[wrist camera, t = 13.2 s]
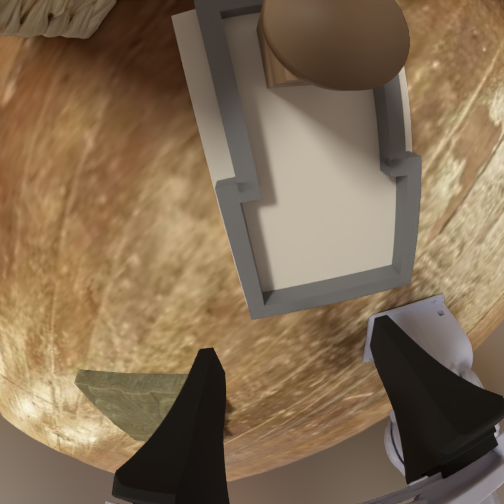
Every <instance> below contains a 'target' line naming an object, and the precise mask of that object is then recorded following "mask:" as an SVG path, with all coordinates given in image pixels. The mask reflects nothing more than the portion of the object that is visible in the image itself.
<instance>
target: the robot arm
mask: <svg viewBox="0 0 504 504" xmlns="http://www.w3.org/2000/svg"><path fill="white" fill-rule="evenodd" d="M444 298H445V296H444V295H443V294H439V295H436V296H433V297H430V298H427V299H424V300H421V301H418V302H414V303H411V304H408V305H405V306H402V307H398V308H395V309H391V310H388V311H384V312H381V313H377V314H374V315H371V316H370V317H369V320H368V327H367V334H366V341H365V347H364V354H363V362H365V363H366V362H370V361H373V360H374V363H375V366H376V368H377V371H378V373H379V375H380V378H381V380H382V382H383V385H384V387H385V389H386V392H387V394H388V397H389V399H390V402H391V404H392V407H393V410H392V411H390V412H389V415H390V418H391V421H389V422H388V423H387V426H386V430H385V433H384V443H385V448H386V451H387V454H388V456H389V458H390V460H391V462H392V463H393V465H394V466H395V467H396V468H398V469H399V470H400V471H401V473H402V474H403V475H404V477H405V479H406V482H407V484H409V485H410V486H408V487H406V488H404V489H401V490H398V491H396V492H393V493H390V494H387V495H385V496H382V497H379V498H376V499H372V500H370V501H366V502H362V503H359V504H397V503H400V502H402V501H405V500H407V499H410V498H412V497H415V496H416V497H415V498H414V500H413V502H410V503H407V504H500V501H499V498H498V495H497V492H496V489H497V488H498V487H499V486H500V485H502V483H504V432H502V433H501V434H500V435H499V428H500V425H499V422H500V421H501V420H502V419H503V418H504V398H503V396H501V395H498V394H495V393H493V392H490V391H487V390H485V389H484V388H483V386H482V384H481V382H480V380H479V379H478V377H477V375H476V374H475V372H474V371H473V370H470V369H471V366H472V361H473V353H472V347H471V344H470V341H469V339H468V337H467V335H466V334H465V332H464V331H463V329H462V328H461V326H460V325H459V323H458V322H457V320H456V319H455V318H454V316H453V315H452V313H451V312H450V311H449V309H448V308H447V306H446V305H445V304H444V302H443V301H444ZM225 404H226V380H225V372H224V369H223V367H222V365H221V363H220V361H219V359H218V357H217V355H216V352H215V350H214V348H205V349H200V350H199V351H198V353H197V356H196V358H195V361H194V363H193V365H192V368H191V370H190V372H189V374H188V377H187V379H186V381H185V383H184V385H183V387H182V389H181V391H180V393H179V395H178V396H177V398H176V400H175V402H174V403H173V405H172V407H171V409H170V410H169V412H168V413H167V415H166V417H165V418H164V419H163V421H162V422H161V424H160V425H159V427H158V428H157V429H156V430H155V432H154V433H153V434H152V436H151V437H150V438H149V439H148V441H147V442H146V443H145V444H144V445H143V446H142V447H141V448H140V449H139V450H138V451H137V452H136V453H135V455H133V456H132V457H131V458H130V459H129V460H128V461H127V462H126V463H125V464H123V465H122V466H121V467H120V468H119V469H118V470H116V472H115V476H114V482H113V489H112V495H113V496H114V497H116V498H119V499H122V500H125V501H128V502H131V503H133V504H230V503H229V498H228V490H227V482H226V473H225V461H224V445H223V433H224V418H225ZM105 504H118V503H114V502H110V501H105Z"/></svg>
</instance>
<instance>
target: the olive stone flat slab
mask: <svg viewBox="0 0 504 504" xmlns="http://www.w3.org/2000/svg"><path fill="white" fill-rule="evenodd" d="M187 377H188V374H137V373H117V372H103V371H91V370H82V369H80V370H79V371H78V372H77V376H76V379H75V382H74V383H75V385H76V386H77V387H78V388H79V389H80V390H81V391H82V392H83V394H84V395H85V396H86V397H87V398H88V399H89V400H90V401H91V402H92V403H93V405H94V406H95V407H96V408H97V409H99V410H100V411H101V412H102V413H103V414H104V415H105V416H106V417H108V418H109V419H110V420H111V421H112V422H113V423H114V424H115V425H116V426H118V427H119V428H120V429H122V430H123V431H124V432H126V433H127V434H128V435H129V436H130V437H131V438H133V439H134V440H138V441H145V442H147V441H148V439H149V438H150V437H151V436H152V434H153V433H154V432H155V430H156V429H157V428H158V427H159V425H160V424H161V422H162V421H163V419H164V418H165V417H166V415H167V413H168V412H169V410H170V409H171V407H172V405H173V403H174V402H175V400H176V398H177V396H178V395H179V393H180V391H181V389H182V387H183V385H184V383H185V381H186V379H187ZM224 438H226V432H225V429H224V433H223V439H224Z"/></svg>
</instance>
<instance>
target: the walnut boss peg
mask: <svg viewBox="0 0 504 504" xmlns="http://www.w3.org/2000/svg"><path fill="white" fill-rule="evenodd" d="M256 31H257V36H258V42H259V47H260V52H261V58H262V64H263V69H264V75H265V81H266V87H267V89H269V88H278V87H289V86H302V85H314V86H316V87H320V88H324V89H328V90H334V91H360V90H369V89H374V88H377V87H380V86H382V85H384V84H386V83H388V82H389V81H391V80H392V79H393V78H395V76H396V75H397V74H398V73H399V72H400V71H401V69H402V68H403V67H404V64H405V62H406V60H407V57H408V54H409V47H410V37H409V30H408V26H407V22H406V20H405V17H404V15H403V13H402V11H401V9H400V8H399V6H398V5H397V3H396V2H395V0H264V2H263V5H262V9H261V13H260V16H259V20H258V24H257V28H256Z"/></svg>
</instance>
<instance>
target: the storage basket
mask: <svg viewBox="0 0 504 504" xmlns="http://www.w3.org/2000/svg"><path fill="white" fill-rule="evenodd" d="M116 1H117V0H0V36H13V35H15V34H16V36H18V37H21V38H32V37H34V36H36V35H43V36H45V37H56V36H63V37H66V38H81V39H87V38H89V37H90V36H91V35H92V34H93V33H94V32H95V31H96V30H97V29H98V27H99V25H100V24H101V22H102V21H103V19H104V18H105V16H106V15H107V13H108V12H109V11H110V10H111V9H112V8H113V6H114V5H115V4H116Z"/></svg>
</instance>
